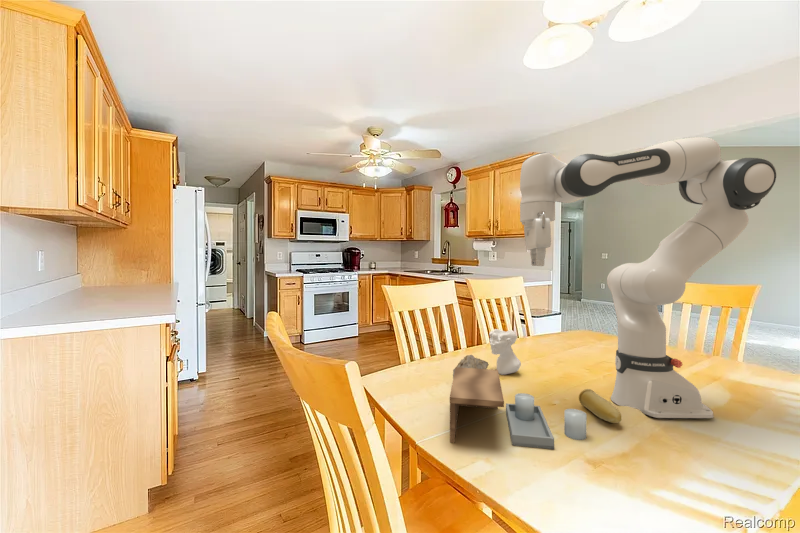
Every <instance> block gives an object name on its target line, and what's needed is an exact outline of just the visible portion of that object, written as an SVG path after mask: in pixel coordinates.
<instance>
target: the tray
mask: <svg viewBox="0 0 800 533" xmlns="http://www.w3.org/2000/svg"><path fill="white" fill-rule="evenodd" d="M505 413H506V414H505V415H506V419H507V424H508V430H509V436H510V439H511V445H512V446H514V447H515V446H517V447H523V448H524V447H525V448H535V449H544V450H545V449H547V450H555V438H554V434H553V433H552V431H551V428H550V426H549V423H548V422H547V420H546V417H545V415H544V413H543V409H542V407H541V406H540V405H534V419H533V420H531V421H523V420H520V419H517V418H516V417H515V403H505Z"/></svg>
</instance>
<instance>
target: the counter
mask: <svg viewBox="0 0 800 533" xmlns="http://www.w3.org/2000/svg"><path fill="white" fill-rule="evenodd" d="M455 367H456V366H455ZM455 367H454V369H455V373H454V378H453V377H452V383H451V384H452V385H451V389H450V394H449V442H450V443H453V444H454V443H455V442H456V435H457V426H458V417H459V410H460V407H469V408H477V409H478V408H480V409H492V410H493V409H494V410H498V409H499V408H505V399H504V394H503V390H502V384H501V380H500V374H499V373H498V370H497V369H491V368H490V369H489V368H487V369H475V368H458V367H456V368H455Z"/></svg>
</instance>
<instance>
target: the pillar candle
mask: <svg viewBox="0 0 800 533" xmlns="http://www.w3.org/2000/svg"><path fill="white" fill-rule="evenodd" d="M563 414H564V416H563V417H564V419H563V420H564V423H563V424H564V426H563V427H564V429H563V430H564V432H563V433H564V435H565V436H566V437H567V438H569V439H572V440H576V441H585V440H586V439H587V418H588V417H587V415H588V414H587V413H586V412H585V411H583V410H581V409H577V408H567V409H564V413H563Z"/></svg>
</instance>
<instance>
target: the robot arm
mask: <svg viewBox="0 0 800 533" xmlns="http://www.w3.org/2000/svg"><path fill="white" fill-rule="evenodd" d="M721 150H722V149H721V147H720V144H719V143H718V142H717V140H715V139H714V138H711V137H707V136H696V137H695V136H694V137H686V138H685V137H683V138H678V139H677V138H676V139H671V140H668V141H667V140H666V141H664V142H663V141H662V142H659V143H655V144H652V145H650V146H648V147H645V148H642V149H641V150H639V151H635V152H629V153H624V154H620V155H619V154H618V155H614V156H613V155H612V156H611V155H610V156H607V155H599V154H594V153H584V154H580V155H578V156H576V157H574V158H573V159H572V160H570V161H569V162H568V163H566V162H565V161H562V160H560V159H559V158H557V157H555V156H554V155H553V154H552V153H551V152H540V153H536V154H535V153H534V154H533V155H530V156H529V157H527V158H526V159H525V160H524V161H523V162H522V164H521V168H520V178H519V179H520V180H519V186H520V187H519V190H520V191H519V192H520V194H521V197H520V198H521V200H520V204H519V213H520V214H519V216H520V218H519V222H520V223H521V224H522V226H523V231H524V232H523V233H524V243H525V248H526V250H527V251H529V252H530V253H529V254H530V261H531V264H530V265H531V267H544V266H545V258H546V252H547V249H548V248H550V247H551V245H552V228H551V227H552V226H551V222H555V221H556V202H557V203H564V204H571V203H572V204H573V203H575V202H577V201H580V200H583V199H585V198H587V197H590V196H591V197H592V196H595V195H597V194H599V193H601V192H602V191H604V190H605V189H607V188H608V187H609V186H611V185H613V184H616V183H621V182H626V181H631V180H637V181H638V182H639V183H640V184H642V185H643V186H646V187H652V186H654V187H656V186H665V185H671V184H676V183H678V190H679V193H680V195H681V197H682V198H683V199H684V201H686V202H688V203H691V204H694V205H700V206H701V207H700V209H699V210H698V211H697V212H696V213H695V215H693V216H691V217H690V218H689V219H687V220H686V221H685V222H683V224H681V225H679V226H678V227H677V228H676V229H674V230H673V231H672V232H671V233H670V234H668V235H667V236H666V237H664V238H662V239H661V241H660V242H659V243H658V247H657V249H656V250H655V251H654V252H653V253H652V255H651V256H649V257H648V258H647V259H645V260H644V261H641V262H626V263H622V264H620V265H618V266H616V267H614V268H612V269H611V270H610V271H609V273H608V275H607V279H606V284H607V287H608V289H609V291H610V293H611V297H612V301H613V306H614V310H615V316H616V320H617V350H616V351H615V352H616V353H615V359H614V360H615V361H614V362H615V370H616V376H615V382H614V386H613V387H614V388H613V390H612V394H611V396H610V400H611V401H612V402H613V403H614V404H616V405H618V406H619V407H629V408H633V409H635V410H639V411H640V412H641V413H642V414H644V415H647V416H649V417H653V418H657V419H714V411H713V410H712V409H711V408H710V407H709V406H708V405H706V404H704V403H703V402H702V397H701V394H700V391H699V389H698V388H697V387H696V386H695V384H693V383H692V382H691V381H689V380H688V379H687V378H685V377H684V376H682V374H680V373H678V372H677V371H676V370H674V367H675V368H678V369H680V368H681V367H682V366H683V361H681V360H680V359H678V358H673V357H671V356H669V355H667V328H666V327H667V326H666V324H665V323H664V321H663V319H662V317H661V315H660V312H659V309H658V306H665V305H670V304H673V303H675V302H677V301H679V300H680V299H681V297H682V296H683V294H684V293H685V291H686V283H687V282H688V281H689V279H690V278H691V277H692V276H693V274H695V273H696V271H697V270H698V269H700V268H701V267H702V266H703V265H705V264H706V263H708V262H709V261H710V260H711V259H713V258H714V257H715V256H716V255H718V254H720V253H721V252H722V251H723V250H724V249H726V248H727V247H728V246H730V245H731V244H732V243H733V242H734V241H735V240H736V239H737V238H738V237H739V236H740V235H741V234H742V232H743V231H744V230H745V229H746V228H747V226H748V224H749V216H748V214H747V212H746V210H750V209H753V208H755V207H758V206H759V204H760V202H761V201H762V199H764V198H765V197H767V195H769V193H770V191H772V189H773V187H774V185H775V183H776V180H777V169H776V167H775V166H774V164H773V163H772V162H771V161H769V160H767V159H765V158H759V157H744V158H743V157H742V158H739V159H731V160H730V159H728V160H724V159H722V158H721V156H722V155H721V154H722V151H721Z"/></svg>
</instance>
